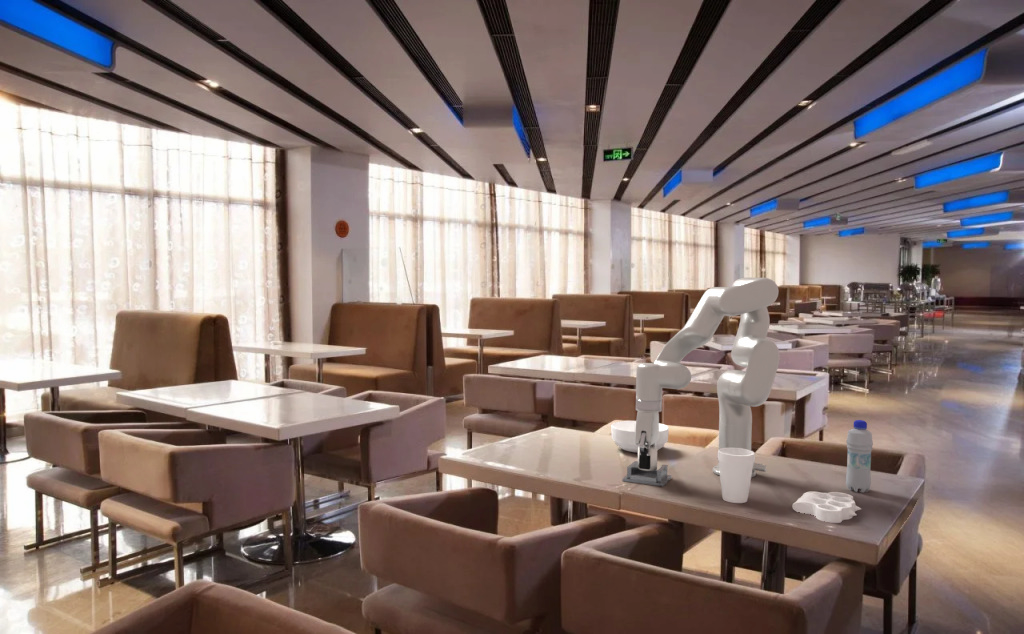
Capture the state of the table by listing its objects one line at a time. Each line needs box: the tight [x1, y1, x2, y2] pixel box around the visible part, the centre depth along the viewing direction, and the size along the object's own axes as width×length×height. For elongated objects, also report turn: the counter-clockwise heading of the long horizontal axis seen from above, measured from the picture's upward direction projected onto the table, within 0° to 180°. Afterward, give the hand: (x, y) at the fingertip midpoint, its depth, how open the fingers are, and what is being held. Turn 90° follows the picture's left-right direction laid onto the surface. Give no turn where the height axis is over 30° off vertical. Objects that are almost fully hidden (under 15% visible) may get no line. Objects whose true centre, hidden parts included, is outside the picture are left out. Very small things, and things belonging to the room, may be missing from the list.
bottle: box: [845, 419, 874, 493], centre depth 197 cm, size 7×7×20 cm
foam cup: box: [716, 448, 756, 504], centre depth 188 cm, size 10×9×13 cm
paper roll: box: [637, 446, 658, 471], centre depth 206 cm, size 6×6×6 cm
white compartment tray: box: [792, 491, 862, 524], centre depth 179 cm, size 3×18×15 cm
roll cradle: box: [622, 460, 672, 487], centre depth 207 cm, size 12×10×4 cm
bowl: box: [610, 420, 670, 453], centre depth 243 cm, size 20×20×8 cm
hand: (647, 465), depth 207 cm, fingers closed on paper roll, 5 cm apart
